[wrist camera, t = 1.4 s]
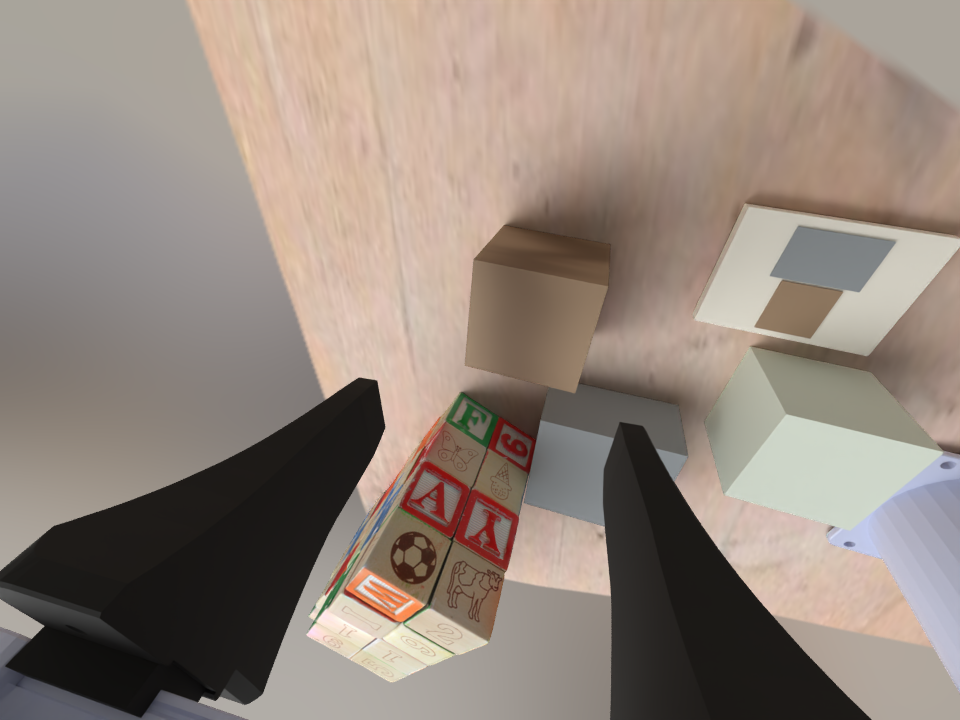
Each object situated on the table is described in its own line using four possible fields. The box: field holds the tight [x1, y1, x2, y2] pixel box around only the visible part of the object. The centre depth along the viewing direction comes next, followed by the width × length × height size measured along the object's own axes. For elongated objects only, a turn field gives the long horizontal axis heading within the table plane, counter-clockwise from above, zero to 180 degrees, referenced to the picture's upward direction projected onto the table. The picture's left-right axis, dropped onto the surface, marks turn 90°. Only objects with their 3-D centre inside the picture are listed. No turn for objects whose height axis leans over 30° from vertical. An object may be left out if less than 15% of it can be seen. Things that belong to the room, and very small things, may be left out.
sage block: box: [704, 346, 944, 531], centre depth 17 cm, size 5×5×5 cm
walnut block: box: [465, 225, 610, 393], centre depth 17 cm, size 5×5×5 cm
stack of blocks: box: [306, 392, 536, 683], centre depth 27 cm, size 21×6×12 cm, turn 150°
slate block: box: [524, 383, 688, 527], centre depth 22 cm, size 7×7×4 cm
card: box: [692, 203, 960, 356], centre depth 16 cm, size 7×5×1 cm
